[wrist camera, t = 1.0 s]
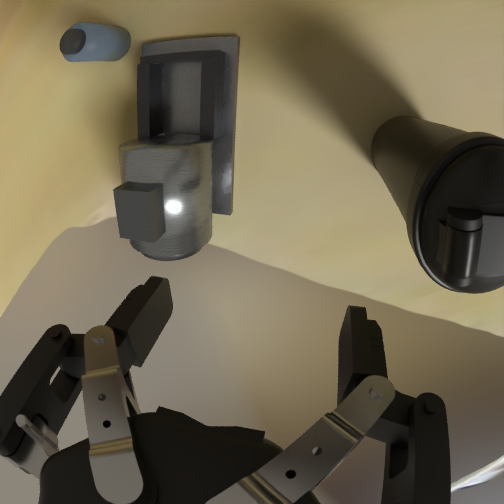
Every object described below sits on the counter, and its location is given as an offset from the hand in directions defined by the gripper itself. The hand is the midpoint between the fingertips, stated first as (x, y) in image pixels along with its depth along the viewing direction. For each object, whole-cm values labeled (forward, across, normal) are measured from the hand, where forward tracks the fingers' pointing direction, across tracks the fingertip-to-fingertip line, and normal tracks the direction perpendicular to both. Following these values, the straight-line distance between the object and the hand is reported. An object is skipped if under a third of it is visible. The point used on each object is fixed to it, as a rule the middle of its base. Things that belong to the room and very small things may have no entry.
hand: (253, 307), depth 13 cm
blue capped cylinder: (+25, +24, -16) cm, 38 cm away
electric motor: (+25, +13, -3) cm, 28 cm away
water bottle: (+25, -13, -3) cm, 28 cm away
